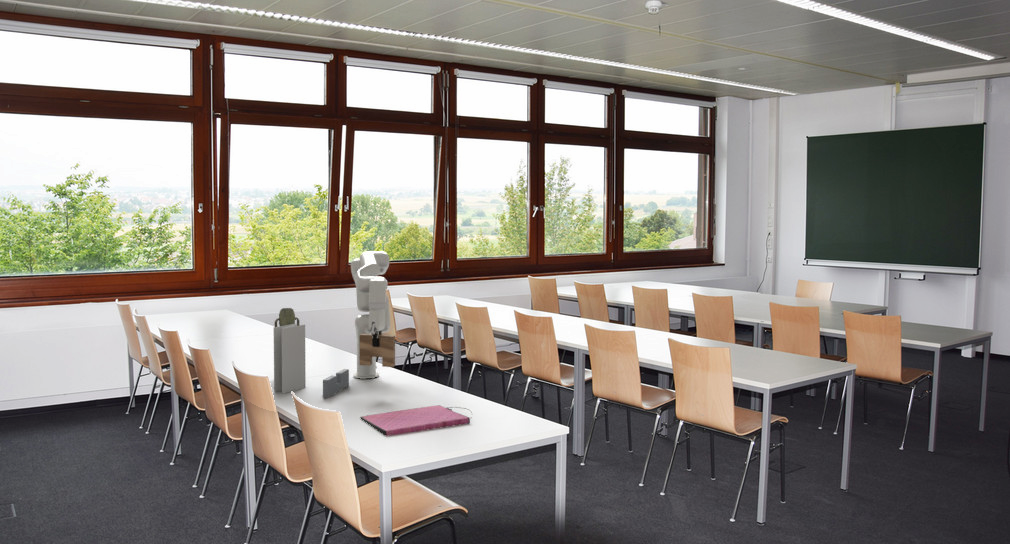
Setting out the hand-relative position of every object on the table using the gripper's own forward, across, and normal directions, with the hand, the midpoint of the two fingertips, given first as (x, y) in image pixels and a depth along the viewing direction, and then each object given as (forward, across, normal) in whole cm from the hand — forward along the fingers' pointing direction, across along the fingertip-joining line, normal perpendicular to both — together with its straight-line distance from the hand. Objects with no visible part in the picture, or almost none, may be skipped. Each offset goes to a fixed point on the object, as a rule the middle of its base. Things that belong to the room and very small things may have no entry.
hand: (377, 345), depth 343 cm
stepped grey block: (+23, +1, -20) cm, 30 cm away
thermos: (+23, -18, -54) cm, 61 cm away
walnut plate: (+9, 0, 0) cm, 9 cm away
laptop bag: (+22, +38, +32) cm, 54 cm away
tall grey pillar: (+23, +3, -42) cm, 48 cm away
